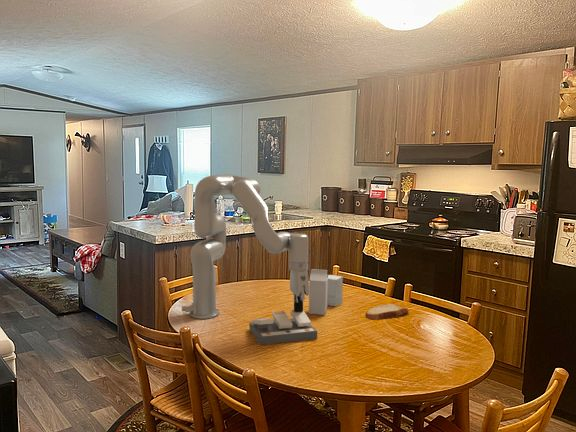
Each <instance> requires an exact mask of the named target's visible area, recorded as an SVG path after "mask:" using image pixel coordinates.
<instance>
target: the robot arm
mask: <svg viewBox="0 0 576 432" xmlns="http://www.w3.org/2000/svg"><path fill="white" fill-rule="evenodd" d="M260 194H261V186H260V183H259V182H258V181H257V180H255V178H249V177H243V176H240V175H239V176H238V175H232V174H213V175H209V176H205V177H204V178H201V180H199V181H198V182H197V184H196V186H195V191H194V223H193V225H194V232H195V235H196V237H199V238H200V239H204V240H201V241H198V242H196V243H195V244H194V245H193V246H192V247H191V249H190V254H189V255H190V256H189V257H190V261H191V267H192V268H191V269H192V302H191V304H190V305H187V306H186V305H185V306H181V311H182V312H185V313H187V312H188V313H189V317H191V318H194V319H197V320H199V319H200V320H203V319H204V320H205V319H206V320H207V319H212V318H216V317H219V315H220V310H219V309H218V308H216V307H217V303H216V302H217V294H216V293H217V292H216V289H217V288H216V287H217V286H216V285H217V282H216V281H217V280H216V279H217V277H216V268H215V265H214V262H215V261H217V260H219V259H221V258H222V257H223V256H224V255H225V252H226V244H227V243H226V242H227V241H226V240H227V224H226V221H225V219H224V217H223V216H222V215H221V214H220V213H216V210H217V209H216V208H217V204H216V201H215V197H219V196H227V195H230V196H233V197H234V198H235V200H236V201H237V203H238V204H239V205H240V206H241V208H242V209H243V211H244V212H245V214H246V216H248V218H249V219H250V221H251V226H252V229H253V232H254V235H255V237H256V238H257V240H258V241H259V242H260V244H261V245H262V247H263V248H264V249H265V250H266V251H267V252H268V253H270V254H273V255H278V254H280V253H283V252H285V251H288V270H289V271H290V274H289V290H290V291H291V293H292V294H293V310H294V311H295V312H303V311H304V301H305V299H306V298H305V295H306V296H308V297H309V282H310V278H309V273H308V271H309V246H310V245H309V235H307V234H306V233H291V232H288V231H279V232H276V231H275V230H274V228H273V227H272V225H271V223H270V221H269V217H268V215H269V206H268V205H267V203H266V201H264V199H263V198H262V196H261V195H260Z"/></svg>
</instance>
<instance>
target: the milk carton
mask: <svg viewBox="0 0 576 432" xmlns="http://www.w3.org/2000/svg"><path fill="white" fill-rule="evenodd" d="M328 275H329V274H328V270H327V269H315V268H313V269H312V268H311V269H310V276H309V295H308V314H310V315H321V316H322V315H323V316H326V313H327V312H328V305H327V295H328Z"/></svg>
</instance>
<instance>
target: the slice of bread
mask: <svg viewBox="0 0 576 432" xmlns="http://www.w3.org/2000/svg"><path fill="white" fill-rule="evenodd" d="M409 312H410V311H409V309H408V308H407V307H404V306H403V307H401V306H399V305H397V304H396V303H387V304H381V305H380V304H379V305H376V306H373V308H369V309H368V310H367V311H366V313H365V318H366V319H368V320H372V321H375V320H377V321H378V320H385V319H392V317H393V318H396V317H400V315H401V316H404V315H406V314H408V313H409Z"/></svg>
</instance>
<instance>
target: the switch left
mask: <svg viewBox="0 0 576 432" xmlns="http://www.w3.org/2000/svg"><path fill="white" fill-rule="evenodd" d="M273 320H274V318H267V317H261V318H260V317H259V318H253V320H252V322H254V323H255V324H259V325H262V324H272V323H273Z"/></svg>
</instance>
